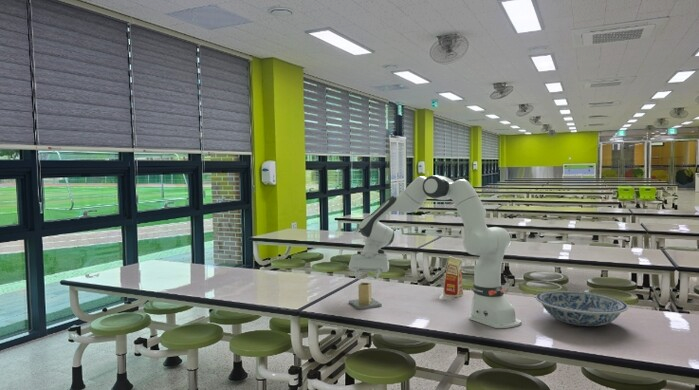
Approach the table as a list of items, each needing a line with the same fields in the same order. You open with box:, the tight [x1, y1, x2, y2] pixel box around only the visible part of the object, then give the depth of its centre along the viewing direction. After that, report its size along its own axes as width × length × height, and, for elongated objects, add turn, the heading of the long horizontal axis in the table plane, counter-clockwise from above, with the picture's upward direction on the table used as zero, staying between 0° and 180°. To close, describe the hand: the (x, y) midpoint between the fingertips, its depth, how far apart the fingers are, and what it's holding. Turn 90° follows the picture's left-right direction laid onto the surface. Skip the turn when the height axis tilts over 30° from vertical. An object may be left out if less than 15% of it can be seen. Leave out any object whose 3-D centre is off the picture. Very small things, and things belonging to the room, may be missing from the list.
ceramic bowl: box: [535, 290, 629, 327], centre depth 192 cm, size 34×34×10 cm
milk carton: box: [442, 255, 464, 298], centre depth 238 cm, size 9×9×20 cm
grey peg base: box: [348, 297, 382, 311], centre depth 224 cm, size 12×12×6 cm
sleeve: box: [357, 282, 372, 304], centre depth 224 cm, size 5×5×9 cm
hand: (366, 277), depth 227 cm, fingers open, 8 cm apart
